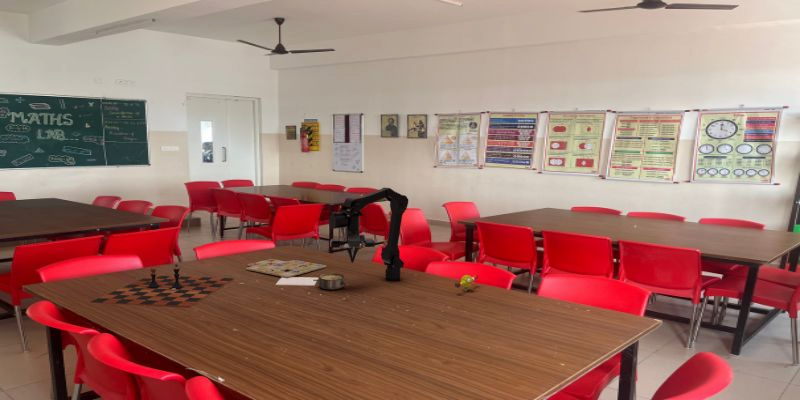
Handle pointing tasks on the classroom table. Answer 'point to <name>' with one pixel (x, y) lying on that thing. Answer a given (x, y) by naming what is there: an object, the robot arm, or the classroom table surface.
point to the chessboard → (165, 290)
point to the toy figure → (466, 281)
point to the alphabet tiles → (283, 267)
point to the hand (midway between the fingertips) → (352, 262)
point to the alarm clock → (331, 281)
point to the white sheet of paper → (297, 281)
